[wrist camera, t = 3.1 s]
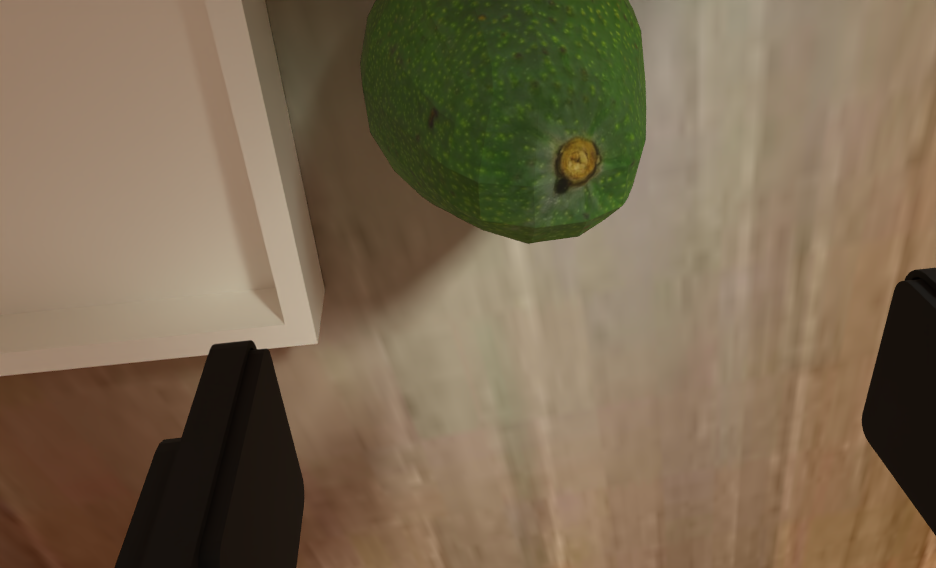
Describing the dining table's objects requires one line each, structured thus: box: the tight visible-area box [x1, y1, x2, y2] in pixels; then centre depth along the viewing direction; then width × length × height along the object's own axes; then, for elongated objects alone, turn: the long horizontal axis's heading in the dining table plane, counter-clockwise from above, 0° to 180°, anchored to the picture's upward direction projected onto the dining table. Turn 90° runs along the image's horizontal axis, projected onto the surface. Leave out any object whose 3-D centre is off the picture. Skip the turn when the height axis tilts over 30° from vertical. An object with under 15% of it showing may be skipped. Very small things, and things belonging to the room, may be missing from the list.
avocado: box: [360, 0, 646, 244], centre depth 22 cm, size 8×8×12 cm
